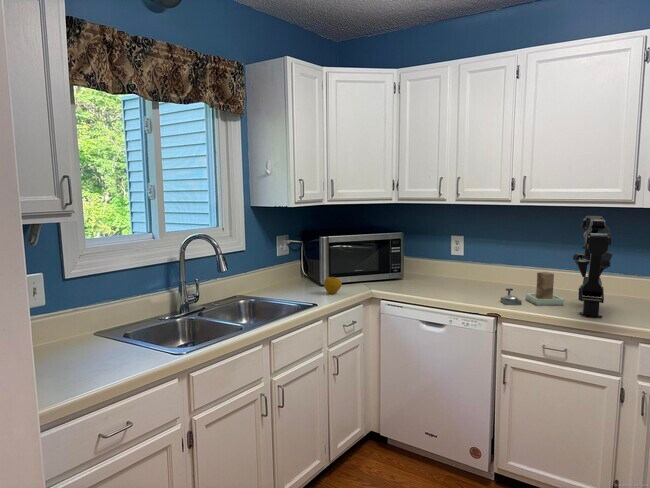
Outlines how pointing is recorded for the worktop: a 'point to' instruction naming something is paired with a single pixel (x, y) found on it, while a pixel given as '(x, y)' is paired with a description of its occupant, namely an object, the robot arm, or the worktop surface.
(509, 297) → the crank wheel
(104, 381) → the worktop surface
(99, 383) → the worktop surface
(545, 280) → the block
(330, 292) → the apple
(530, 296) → the tray
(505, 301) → the crank base
